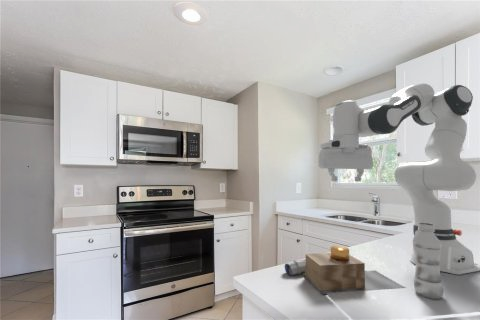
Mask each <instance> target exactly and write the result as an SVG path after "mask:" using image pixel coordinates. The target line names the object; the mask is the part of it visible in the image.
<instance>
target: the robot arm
mask: <svg viewBox="0 0 480 320" xmlns="http://www.w3.org/2000/svg"><path fill="white" fill-rule="evenodd" d="M473 98H474V96H473V93H472V92H471V90H470V89H469V88H468V87H467V86H464V85H461V84H456V85H455V84H454V85H452V86H449V87H447V88H445V89H443V90H442V91H439V92H437V93H435V90H434V88H433V86H431V85H430V84H428V83H417V84H413V85H409V86H407V87H405V88H402V89H400V90H399V91H397V92H396V93H394V94H392V96H391V97H390V98H389V101H388V104H382V105H380V106H377V107H375V108H371V109H368V110H364V109H362V108H361V107H360V106H359V105H358V104H357V103H358V102H357V101H356V100H345V101H342V102H339V103H337V104H336V105H335V107H334V109H333V115H332V126H333V134H332V135H333V136H332V139H331V140H328V141H325V142H323V143H321V144H320V149H321V150H320V151H319V153H318V167H319V168H320V169H327V171H328V174H329V176H330V177H331V178H330V179H331V180H330V181H331V182H338V176H336V175H335V170H338V169H340V170H356V173H357V175H356V176H354V182H362V176H363V175H364V172H365V170H372V169H373V167H374V159H373V158H374V157H373V154H372V153H373V152H372V148H371V147H370V146H369V145H368V144H360V138H367V137H373V136H378V135H389V134H392V133H394V132H395V131H396V130H398V128H399V127H400V125H401V124H402V122H404V120H405V119H408V117H410V116H411V118H412V120H413V122H415V123H416V124H418V125H420V126H422V127H423V126H430V125H433V124H434V125H435V126H434V128H433V130H432V131H431V133H430V136H429V137H428V141H427V142H426V144H425V147H424V153H425V155H426V156H427V158H429V159H430V161H412V162H411V161H410V162H406V163H402V164H399V165H398V166H397V167H396V168H395V170H394V174H393V175H394V181H395V182H396V183H397V185H398V186H399V187H401V188H402V189H403V190H405V192H406V194H407V195H408V196H409V198H410V200H411V203H412V208H413V217H414V224H413V225H412V226H413V228H412V230H413V237H414V236H415V235H416V234H417V233H418V232H419V230H418V223H430V224H434V229H435V232H434V234H435V236H436V237H437V238H438V239H439V241H440V243H441V253H440V264H439V266H440V272H443V273H444V272H445V273H449V274H453V275H464V274H469V273H474V272H479V271H480V264H479V263H476V262H475V260H474V254H473V252H472V250H471V249H469V248H468V247H467V246H465V245H464V244H463V243H462V242H460V241H459V240H458V239H457V236H462V233H463V231H462V230H461V229H456V228H455V229H453V228H452V209H451V208H450V206H449V205H448V204H447V203H446V202H443V201H442V200H440V199H438V198H437V197H436V196H435V193H434V191H440V192H443V191H444V192H459V191H460V192H461V191H465V190H466V191H468V190H470V189H471V188H472V187H473V186H474V185H475V183H476V179H477V173H476V171H475V169H474V167H473V166H472V165H471V164H469V163H468V162H466V161H464V160H462V158H461V152H462V148H463V146H464V143H465V140H466V136H467V130H468V123H467V122H466V120H465V119H464V118H463V116H466V115H467V114H468V113H469V111H470V108H471V106H472V104H473V101H474V99H473ZM456 235H457V236H456ZM411 252H412V253H410V254H411V255H410V260H409V261H410V262H411V263H412V264H414V265H416V262H415V261H416V260H415V253H414V248H413V247H412V251H411Z"/></svg>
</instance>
